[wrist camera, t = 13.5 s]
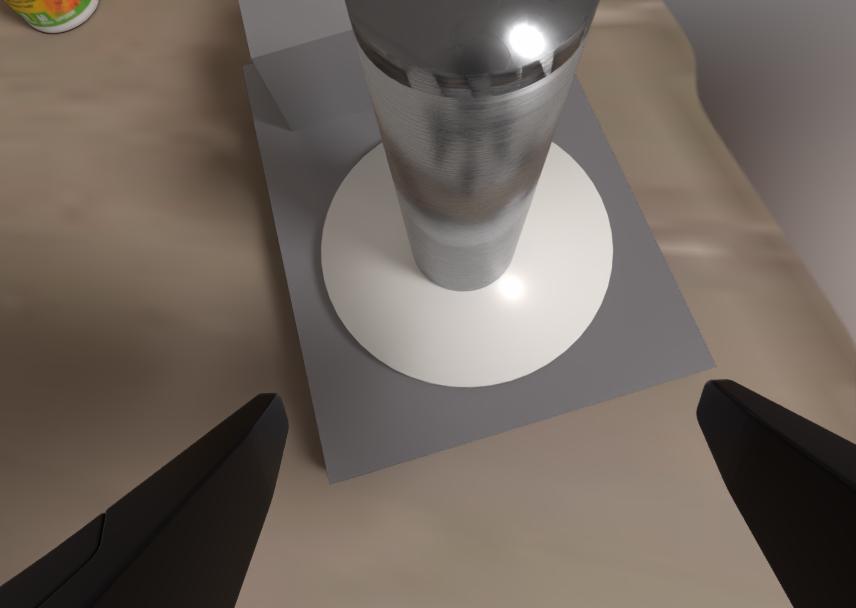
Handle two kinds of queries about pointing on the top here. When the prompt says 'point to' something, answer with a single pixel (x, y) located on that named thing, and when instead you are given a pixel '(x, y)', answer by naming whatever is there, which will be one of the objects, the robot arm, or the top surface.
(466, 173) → the ball
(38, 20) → the supplement bottle
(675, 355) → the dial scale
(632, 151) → the top surface
